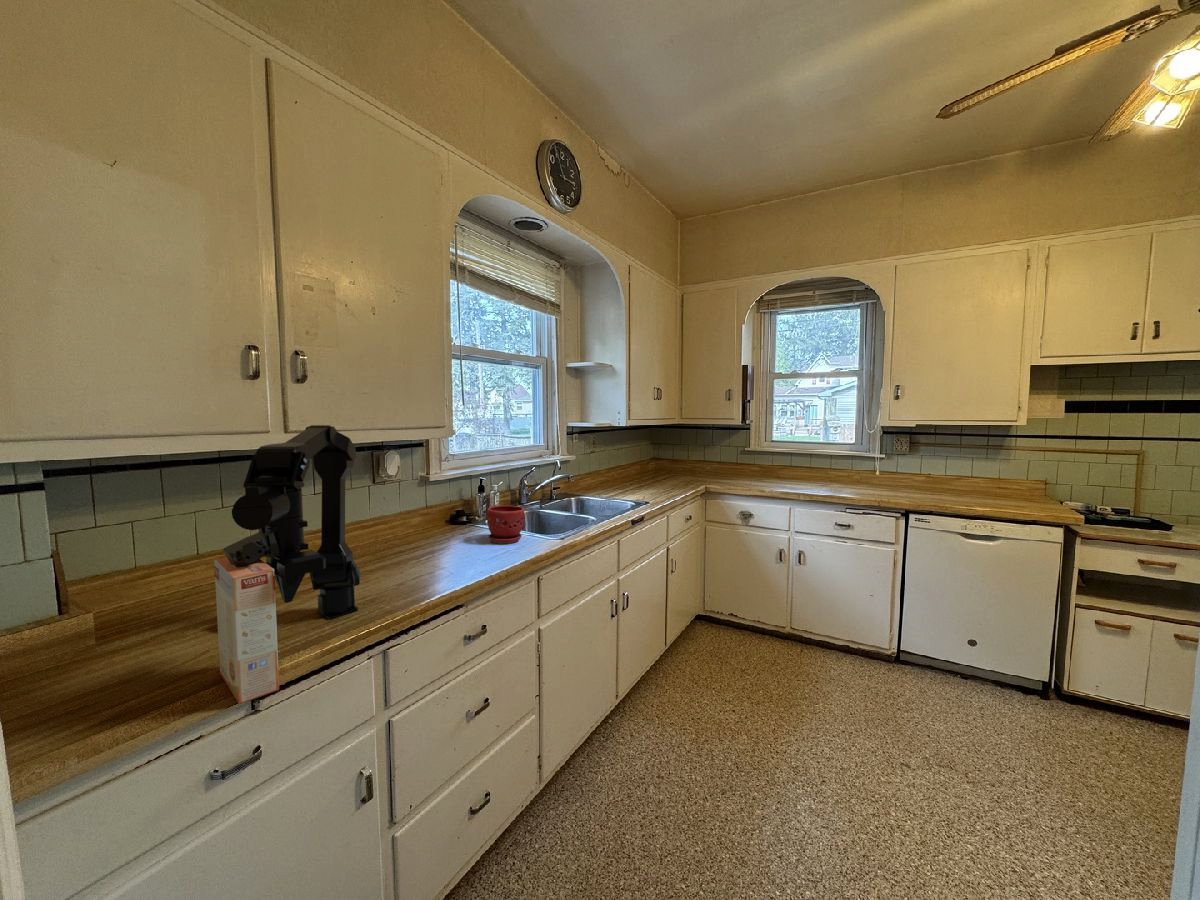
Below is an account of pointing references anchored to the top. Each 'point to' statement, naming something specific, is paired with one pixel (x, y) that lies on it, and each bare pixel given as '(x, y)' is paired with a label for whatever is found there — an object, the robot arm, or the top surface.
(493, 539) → the plant pot
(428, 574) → the top surface
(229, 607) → the cracker box
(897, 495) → the top surface
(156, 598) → the top surface
